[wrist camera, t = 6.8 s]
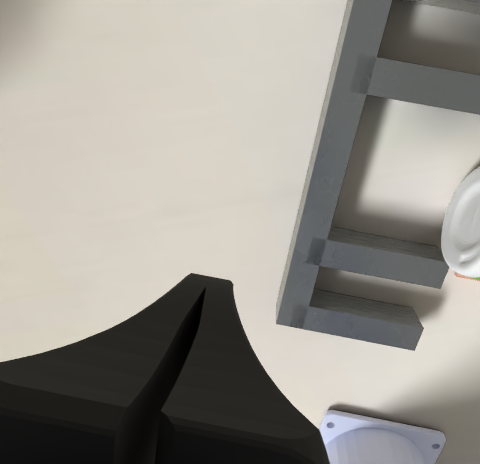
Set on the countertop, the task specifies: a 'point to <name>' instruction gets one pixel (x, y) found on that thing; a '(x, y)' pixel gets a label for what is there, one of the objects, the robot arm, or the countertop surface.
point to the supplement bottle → (463, 228)
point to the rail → (331, 178)
